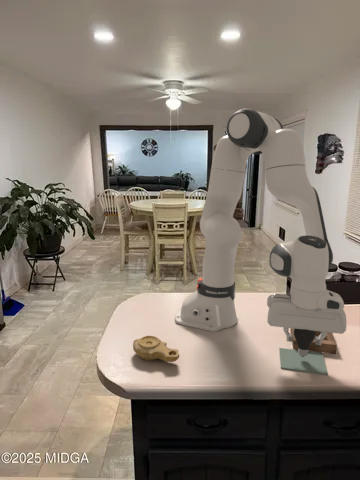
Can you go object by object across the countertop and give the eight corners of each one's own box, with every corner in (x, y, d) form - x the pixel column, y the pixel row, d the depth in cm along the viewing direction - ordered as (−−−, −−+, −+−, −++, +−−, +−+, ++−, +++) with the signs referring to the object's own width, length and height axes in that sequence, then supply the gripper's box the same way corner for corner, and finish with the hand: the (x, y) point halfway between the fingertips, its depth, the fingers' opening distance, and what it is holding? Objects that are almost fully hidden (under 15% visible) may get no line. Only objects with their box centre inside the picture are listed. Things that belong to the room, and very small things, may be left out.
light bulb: (288, 351, 95) (291, 319, 93) (307, 350, 95) (310, 318, 93) (297, 362, 90) (299, 329, 87) (316, 361, 90) (319, 328, 88)
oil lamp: (178, 369, 90) (178, 353, 88) (127, 367, 91) (126, 351, 90) (181, 348, 100) (181, 333, 99) (135, 346, 101) (135, 332, 100)
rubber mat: (280, 368, 90) (280, 367, 89) (279, 348, 99) (279, 347, 99) (328, 375, 87) (328, 373, 86) (322, 354, 96) (322, 353, 96)
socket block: (293, 348, 99) (293, 339, 98) (290, 329, 110) (290, 321, 110) (336, 354, 96) (337, 345, 95) (328, 334, 107) (329, 325, 107)
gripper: (267, 297, 88) (265, 343, 91) (351, 304, 83) (345, 353, 86) (267, 288, 94) (265, 332, 97) (345, 295, 89) (340, 341, 92)
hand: (303, 342), depth 92 cm, fingers open, 6 cm apart
